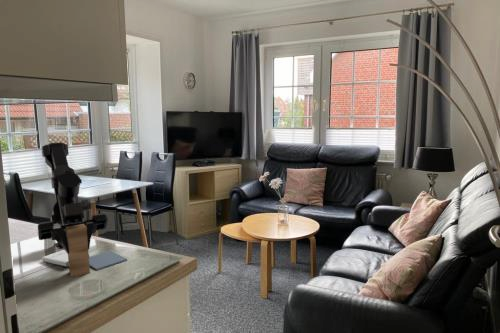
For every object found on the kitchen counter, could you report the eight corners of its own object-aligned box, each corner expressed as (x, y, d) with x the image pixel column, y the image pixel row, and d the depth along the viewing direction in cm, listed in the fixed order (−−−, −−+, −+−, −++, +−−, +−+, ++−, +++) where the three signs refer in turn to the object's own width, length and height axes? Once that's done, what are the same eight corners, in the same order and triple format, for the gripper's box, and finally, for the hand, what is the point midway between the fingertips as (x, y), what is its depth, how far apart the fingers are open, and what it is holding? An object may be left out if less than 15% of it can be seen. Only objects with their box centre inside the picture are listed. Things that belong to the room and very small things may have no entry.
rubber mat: (80, 261, 117) (80, 259, 117) (110, 252, 124) (110, 250, 124) (96, 270, 110) (96, 268, 109) (127, 260, 117) (127, 258, 117)
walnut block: (69, 272, 109) (65, 226, 107) (87, 268, 111) (84, 223, 109) (71, 277, 105) (67, 230, 103) (90, 272, 108) (86, 227, 106)
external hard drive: (66, 267, 111) (42, 261, 117) (89, 258, 118) (66, 253, 124) (65, 262, 110) (41, 256, 117) (89, 253, 117) (65, 248, 124)
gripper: (34, 195, 103) (41, 244, 95) (104, 187, 113) (115, 231, 106) (35, 216, 111) (42, 263, 103) (100, 207, 121) (110, 249, 113)
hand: (78, 251), depth 106 cm, fingers closed on walnut block, 5 cm apart
